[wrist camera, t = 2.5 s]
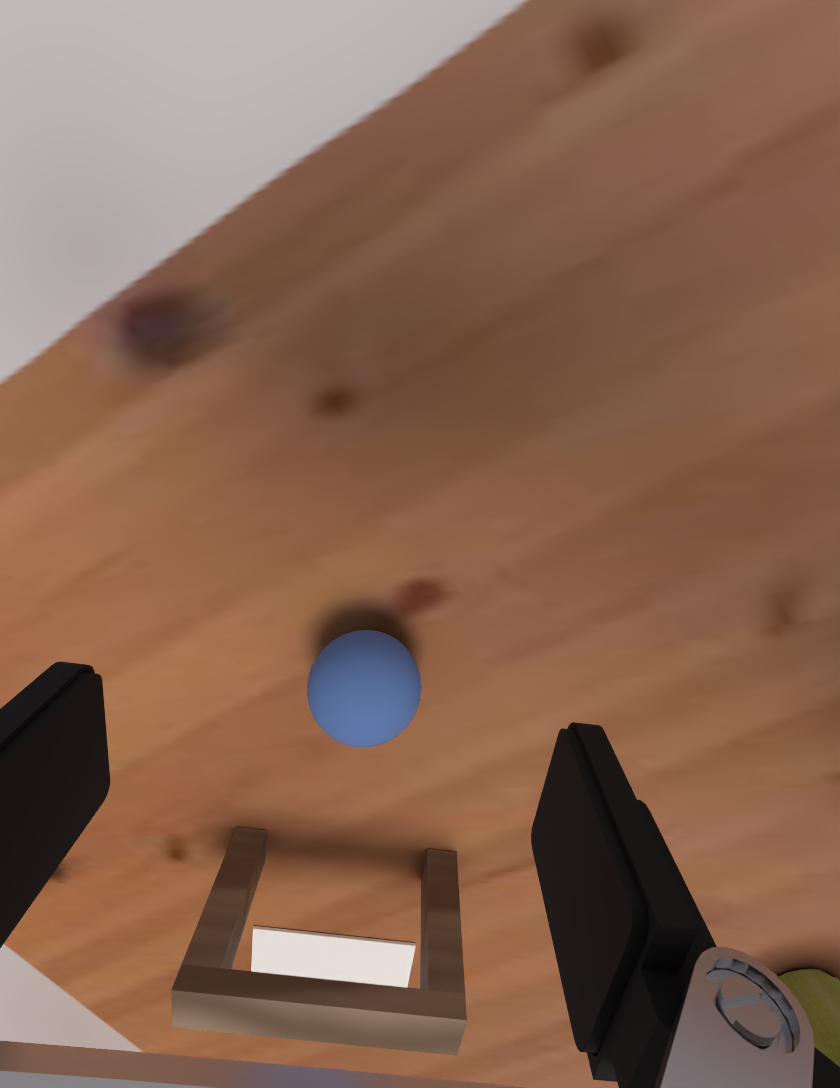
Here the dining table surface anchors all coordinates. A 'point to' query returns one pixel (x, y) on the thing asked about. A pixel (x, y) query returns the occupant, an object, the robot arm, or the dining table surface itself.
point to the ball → (364, 688)
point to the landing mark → (331, 956)
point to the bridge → (321, 1004)
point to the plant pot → (819, 1007)
